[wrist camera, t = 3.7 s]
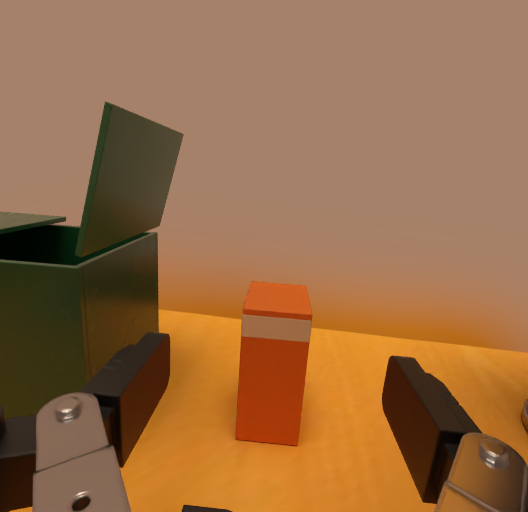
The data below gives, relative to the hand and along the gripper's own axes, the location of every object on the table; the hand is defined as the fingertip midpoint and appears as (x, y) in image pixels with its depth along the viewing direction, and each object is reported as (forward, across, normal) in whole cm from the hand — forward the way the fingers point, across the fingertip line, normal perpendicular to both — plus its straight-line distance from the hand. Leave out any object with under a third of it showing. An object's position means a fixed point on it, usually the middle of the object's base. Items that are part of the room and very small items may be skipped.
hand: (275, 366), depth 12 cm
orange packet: (+11, 0, +11) cm, 16 cm away
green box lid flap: (+12, +10, -6) cm, 17 cm away
